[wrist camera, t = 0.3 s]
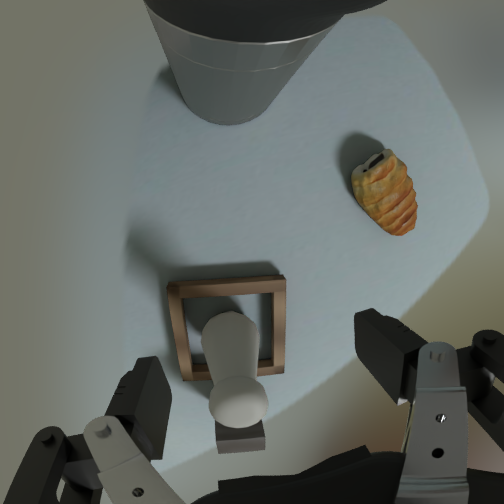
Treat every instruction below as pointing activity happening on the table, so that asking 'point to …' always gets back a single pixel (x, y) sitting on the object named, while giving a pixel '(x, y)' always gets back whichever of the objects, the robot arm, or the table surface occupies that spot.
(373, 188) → the pastry
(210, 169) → the table surface
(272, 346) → the frame
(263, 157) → the table surface
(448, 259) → the table surface
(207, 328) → the salt shaker
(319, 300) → the table surface
